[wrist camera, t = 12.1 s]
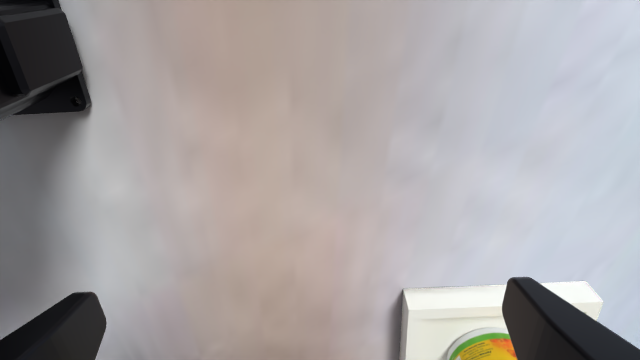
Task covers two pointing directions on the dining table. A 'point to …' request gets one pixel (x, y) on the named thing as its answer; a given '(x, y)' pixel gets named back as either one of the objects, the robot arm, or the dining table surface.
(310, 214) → the dining table surface
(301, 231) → the dining table surface
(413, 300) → the dish
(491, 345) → the supplement bottle
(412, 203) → the dining table surface
